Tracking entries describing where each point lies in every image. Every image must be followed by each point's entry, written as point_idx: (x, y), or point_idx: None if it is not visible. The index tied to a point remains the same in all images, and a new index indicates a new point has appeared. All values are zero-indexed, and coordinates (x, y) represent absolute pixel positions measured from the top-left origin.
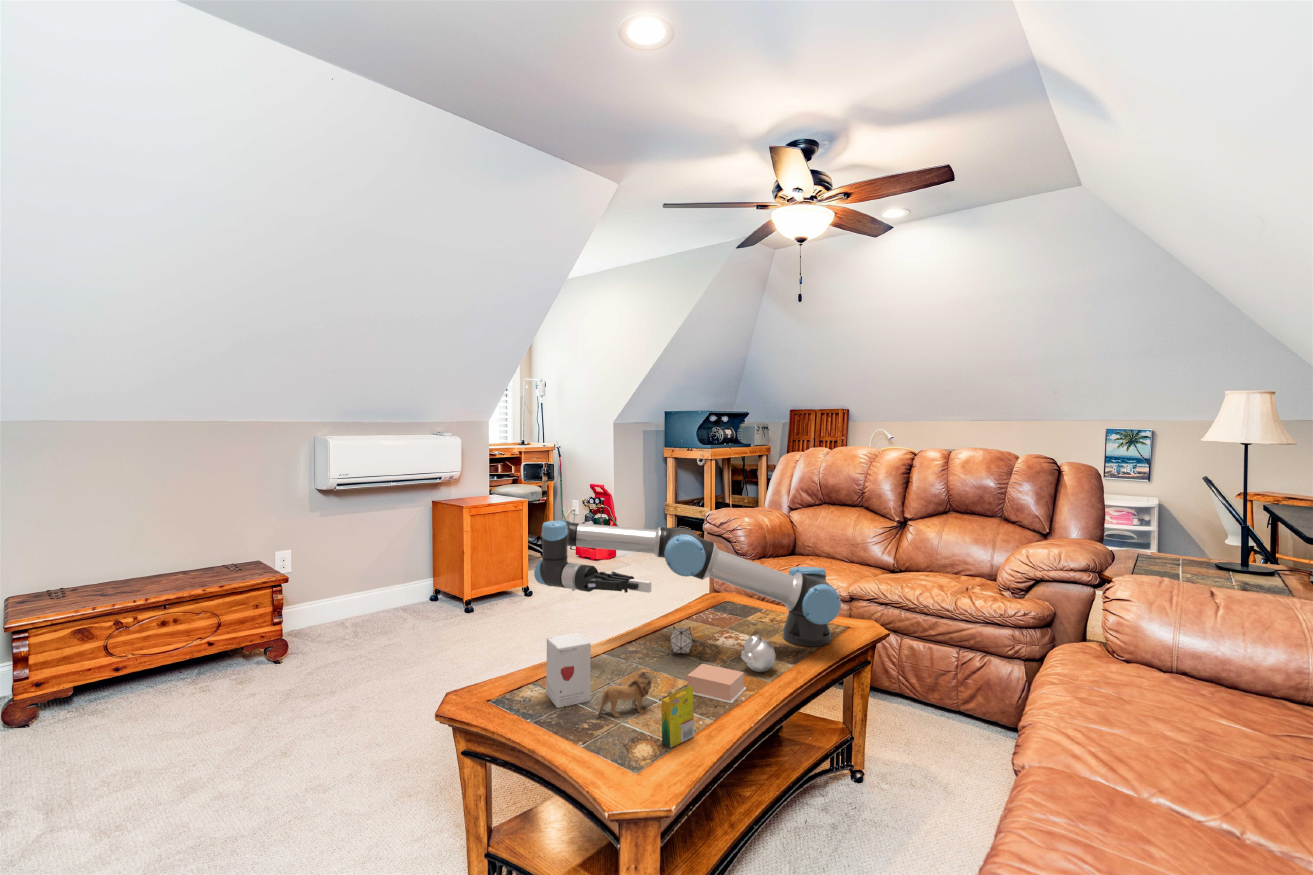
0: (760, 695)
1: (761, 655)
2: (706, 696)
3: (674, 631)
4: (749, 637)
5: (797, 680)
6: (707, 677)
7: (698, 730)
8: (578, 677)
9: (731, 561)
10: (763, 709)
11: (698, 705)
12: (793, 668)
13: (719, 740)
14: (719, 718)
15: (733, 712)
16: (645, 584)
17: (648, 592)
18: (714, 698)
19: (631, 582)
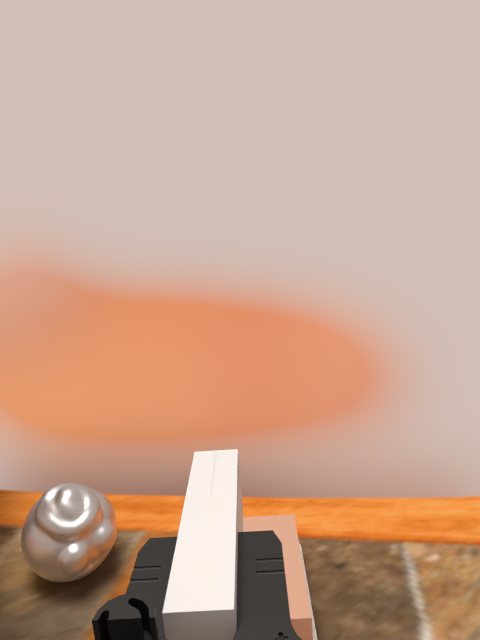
0: None
1: (110, 503)
2: (310, 600)
3: None
4: (63, 502)
5: (118, 500)
6: (287, 567)
7: (466, 546)
8: None
9: None
10: (285, 500)
11: (367, 597)
12: None
13: (456, 508)
14: (383, 538)
15: (337, 530)
16: (238, 480)
17: (242, 518)
18: (306, 581)
19: (235, 595)
